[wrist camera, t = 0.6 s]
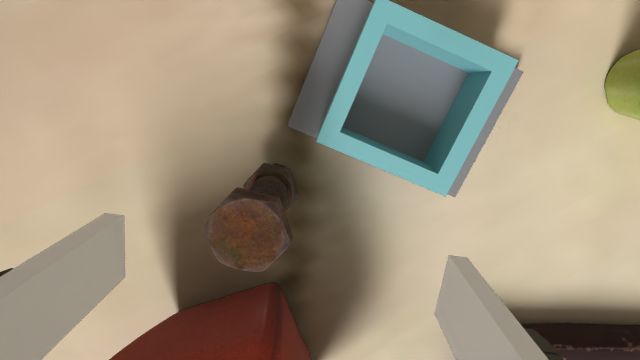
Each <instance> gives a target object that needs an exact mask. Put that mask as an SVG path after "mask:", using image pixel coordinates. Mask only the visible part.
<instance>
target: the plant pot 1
mask: <svg viewBox="0 0 640 360" xmlns="http://www.w3.org/2000/svg"><path fill="white" fill-rule="evenodd" d="M110 360H312V359H311V357H310V355H309V352H308V350H307V348H306V345H305V343H304V341H303V338H302V336H301V334H300V331H299V329H298V326H297V324H296V322H295V319H294V317H293V315H292V312H291V310H290V308H289V305H288V303H287V301H286V298H285V296H284V294H283V291H282V289H281V288H280V286H279V285H277V284H275V283H268V284H265V285H261V286H258V287H255V288H252V289H248V290H245V291H242V292H239V293H236V294H232V295H229V296H226V297H223V298H220V299H216V300H213V301H210V302H207V303H203V304H200V305H197V306H194V307H191V308H187V309H184V310H181V311H179V312H178V313H176V314H174V315H172V316H171V317H169V318H167V319H166V320H164V321H163V322H161V323H160V324H158V325H156V326H155V327H153V328H152V329H150V330H149V331H147V332H146V333H144V334H143V335H141V336H140V337H139V338H137V339H136V340H134V341H133V342H132V343H130V344H129V345H128V346H126V347H125V348H124V349H122V350H121V351H120V352H118V353H117V354H116V355H114V356H113V357H112V358H111V359H110Z"/></svg>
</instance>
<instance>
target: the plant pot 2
mask: <svg viewBox="0 0 640 360" xmlns="http://www.w3.org/2000/svg"><path fill="white" fill-rule="evenodd" d="M605 90H606V95H607V102H608V104H609V106H610V107H611V108H612V109H613V110H614V111H615V112H617V113H619V114H621V115H625V116H628V117H631V118H634V119H638V120H640V49H639V50H636V51H633V52H631V53H629V54H627V55H625V56H623V57H622V58H621V59H619V60H618V61H617V62H616V63H615V65H614V66H613V67H612V69H611V70H610V72H609V74H608V76H607V78H606V82H605Z"/></svg>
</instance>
